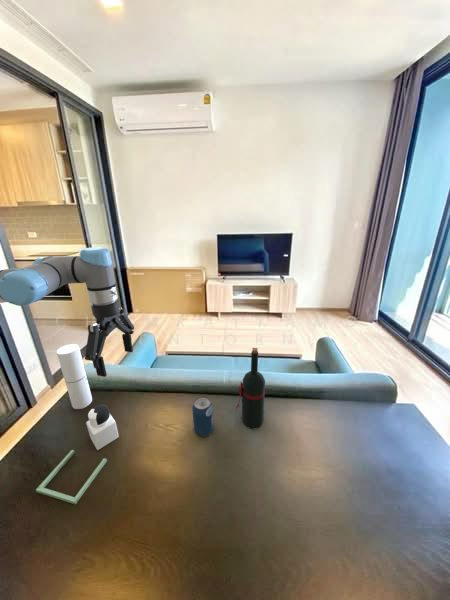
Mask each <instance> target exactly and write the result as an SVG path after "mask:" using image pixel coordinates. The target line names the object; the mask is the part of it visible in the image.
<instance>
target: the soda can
mask: <svg viewBox="0 0 450 600" xmlns="http://www.w3.org/2000/svg"><path fill="white" fill-rule="evenodd" d="M191 410H192V411H191V412H192V422H193V423H192V425H193V431H194V432H195V434H197V435H198V436H199V437H206V436H209V435H210V434H211V433H212V431H213V430H214V406H213V402H212V401H211V399H210V398H209V397H208V396H199V397H197V398H195V399H194V401H193V404H192V407H191Z"/></svg>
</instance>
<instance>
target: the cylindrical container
mask: <svg viewBox="0 0 450 600" xmlns="http://www.w3.org/2000/svg"><path fill="white" fill-rule="evenodd" d="M56 356H57V360H58V362H59V365H60V369H61V373H62V377H63V381H64V383H65V387H66V390H67V394H68V396H69V400H70V404H71V407H72V408H73V409H74V410H82V409H85V408H86V407H88V406H89V405H90V404H92V402H93V397H92V393H91V387H90V385H89V381H88V377H87V373H86V369H85V365H84V361H83V356H82V352H81V349H80V345H79V344H77V343H69V344H65V345H62V346H60V347H59V348H58V349H56Z"/></svg>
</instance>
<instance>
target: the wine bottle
mask: <svg viewBox="0 0 450 600" xmlns="http://www.w3.org/2000/svg"><path fill="white" fill-rule="evenodd" d="M250 355H251V356H250V371H247V372H246V373H245V374H244V375H243V378H242V381H240V386H238V393H239V399H238V403H237V405H236V407H235V411H237V409H238V408H239V407H240V400H241V422H242V424H243V425H244V426H245V427H246V428H248V429H251V430H254V429H259V428H261V426H263V423H264V417H265V414H264V413H265V396H266V395H265V394H266V390H265V389H266V380H265V377H264V375H263V374H262V373H261V372H260V371H258V370H259V369H258V368H259V350H258V347H252V349H251V354H250ZM241 397H242V398H241Z"/></svg>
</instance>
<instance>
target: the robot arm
mask: <svg viewBox="0 0 450 600" xmlns="http://www.w3.org/2000/svg"><path fill="white" fill-rule="evenodd" d="M78 252H79V255H74V256H73V255H72V256H66V255H65V256H53V255H48V256H40V257H37V258H35V260H34V262H32V264H31V265H27V266H22V267H13V268H2V269H0V304H4V303H9V304H11V305H15V306H18V307H22V306H29V305H31V304H34V303H37V302H39V301H41V300H42V299H43V298H44V297H46V296H48V295H49V294H51V293H53V292H55V291H56V290H58V289H60V288H62V287H63V286H65V285H69V284H85V286H86V290H87V295H88V299H89V303H90V308H91V312H92V313H91V314H92V316H93V317H94V318H95V320H96V321H95V323H94V324H88V325H87V331H88V332H87V333H88V335H87V342H86V347H85V353H84V360H85V361H92V366H93V368H94V369H95V372H96V376H98V377H103V378H105V377H107V374H108V373H107V370H106V365H105V361H104V357H103V356H102V352H103V350H104V347H105V343H106V340H107V337H109V335H110V333H111V332H112V331H113V330H115V329H118V330H119V331H120V332H121V333H123V334H121V338H122V342H123V348H124V352H126V353H133V352H134V348H133V343H132V342H133V341H132V339H133V338H132V335H134V330H135V326H134V324H133V322H132V321H131V319H130V318H129V317H128V315H127V312H126V309H125V308H122V307H121V306H120V301H119V296H118V289H117V285H116V279H115V272H114V264H113V261H112V257H111V252H110V250H109V249H108V248H107V247H103V246H102V247H101V246H95V247H85V248H81V249H79V251H78Z"/></svg>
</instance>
